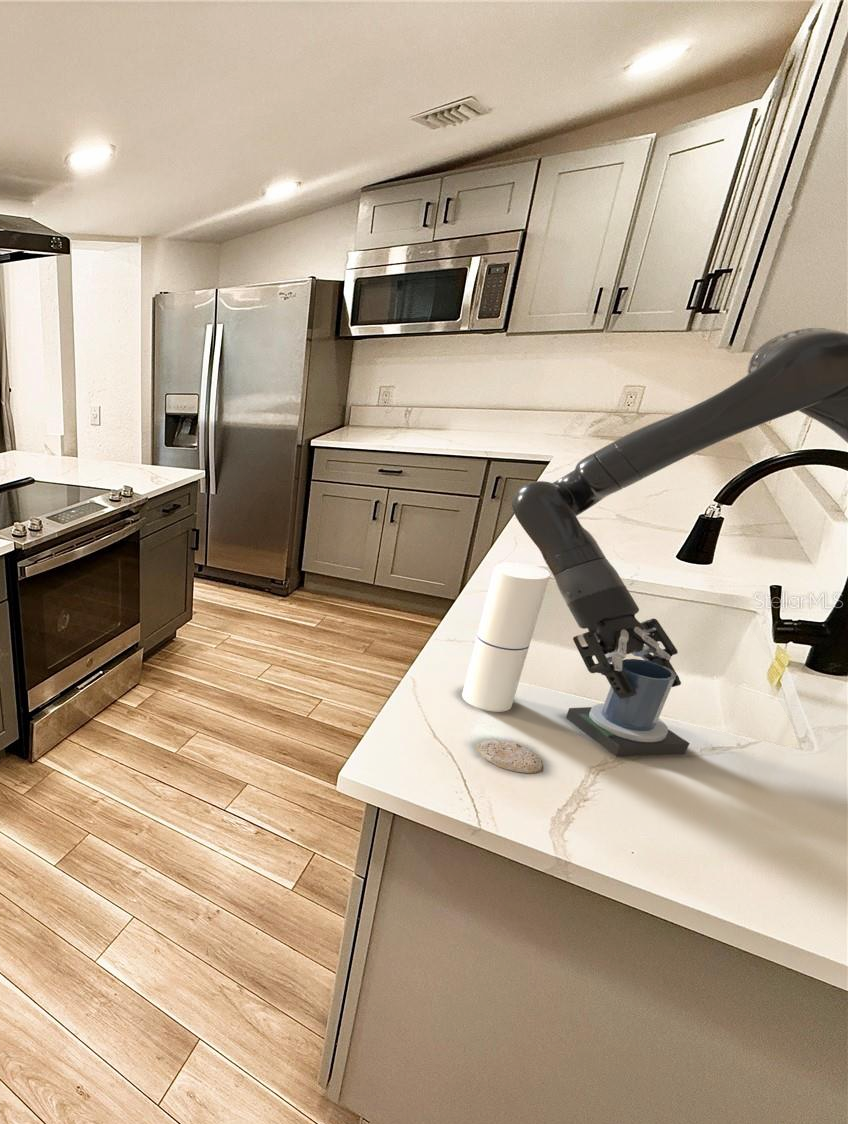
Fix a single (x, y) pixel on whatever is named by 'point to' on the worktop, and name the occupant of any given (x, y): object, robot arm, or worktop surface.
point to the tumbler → (640, 696)
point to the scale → (626, 735)
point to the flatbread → (510, 756)
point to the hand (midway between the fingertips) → (651, 691)
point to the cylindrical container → (504, 635)
